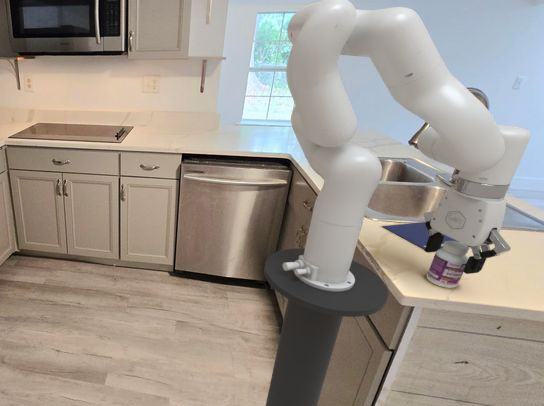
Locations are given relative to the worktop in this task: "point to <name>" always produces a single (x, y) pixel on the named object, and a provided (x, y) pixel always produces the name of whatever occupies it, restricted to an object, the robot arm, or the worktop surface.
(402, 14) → the robot arm
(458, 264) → the pill bottle
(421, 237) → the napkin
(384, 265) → the worktop surface
